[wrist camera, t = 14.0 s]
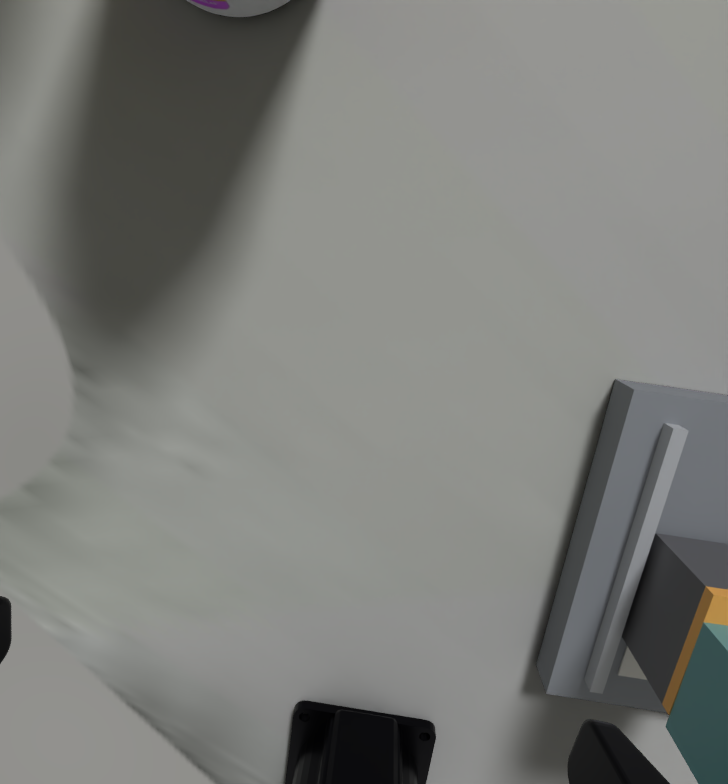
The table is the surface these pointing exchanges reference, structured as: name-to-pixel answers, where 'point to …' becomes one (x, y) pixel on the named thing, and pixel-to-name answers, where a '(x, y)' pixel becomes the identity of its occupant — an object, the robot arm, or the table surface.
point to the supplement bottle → (238, 6)
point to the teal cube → (704, 708)
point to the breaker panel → (633, 532)
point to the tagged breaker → (675, 608)
